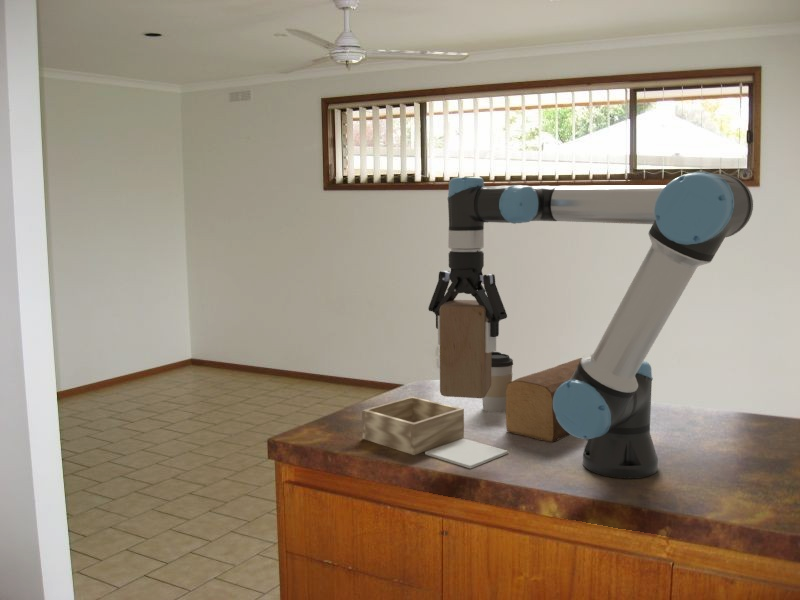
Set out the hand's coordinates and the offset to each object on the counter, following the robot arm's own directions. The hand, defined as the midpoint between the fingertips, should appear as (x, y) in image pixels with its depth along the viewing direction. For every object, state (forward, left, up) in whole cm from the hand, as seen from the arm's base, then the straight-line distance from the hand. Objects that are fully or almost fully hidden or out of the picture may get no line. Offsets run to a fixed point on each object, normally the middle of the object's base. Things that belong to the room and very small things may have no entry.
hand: (466, 347), depth 165 cm
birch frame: (+17, 0, -24) cm, 29 cm away
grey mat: (0, 0, -24) cm, 24 cm away
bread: (-2, -36, -24) cm, 43 cm away
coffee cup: (+18, -33, -24) cm, 45 cm away
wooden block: (0, 0, -10) cm, 10 cm away
